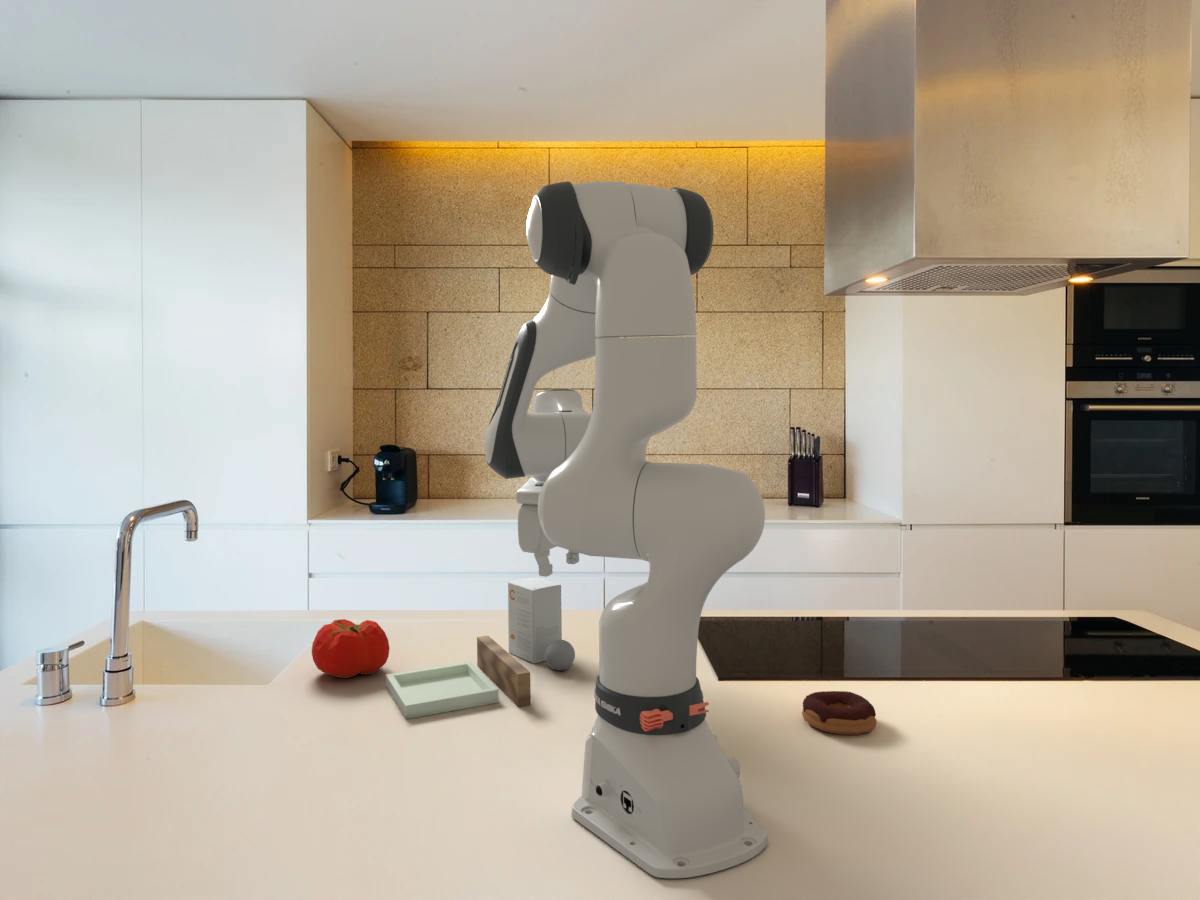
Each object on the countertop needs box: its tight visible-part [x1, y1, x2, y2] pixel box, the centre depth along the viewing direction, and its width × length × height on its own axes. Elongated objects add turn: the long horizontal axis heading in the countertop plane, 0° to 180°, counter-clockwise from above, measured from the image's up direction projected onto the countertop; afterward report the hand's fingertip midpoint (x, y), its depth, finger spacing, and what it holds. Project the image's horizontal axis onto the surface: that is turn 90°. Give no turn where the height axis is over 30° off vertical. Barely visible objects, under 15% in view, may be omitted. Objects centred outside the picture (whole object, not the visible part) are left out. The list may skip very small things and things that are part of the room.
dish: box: [385, 660, 500, 720], centre depth 124 cm, size 14×14×2 cm
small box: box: [507, 576, 563, 664], centre depth 142 cm, size 8×6×13 cm
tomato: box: [311, 618, 390, 679], centre depth 134 cm, size 13×12×8 cm
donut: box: [801, 690, 878, 736], centre depth 113 cm, size 10×10×4 cm
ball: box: [545, 639, 576, 671], centre depth 135 cm, size 5×5×5 cm
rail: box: [476, 635, 532, 708], centre depth 129 cm, size 20×2×5 cm, turn 26°
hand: (559, 569), depth 134 cm, fingers open, 8 cm apart
